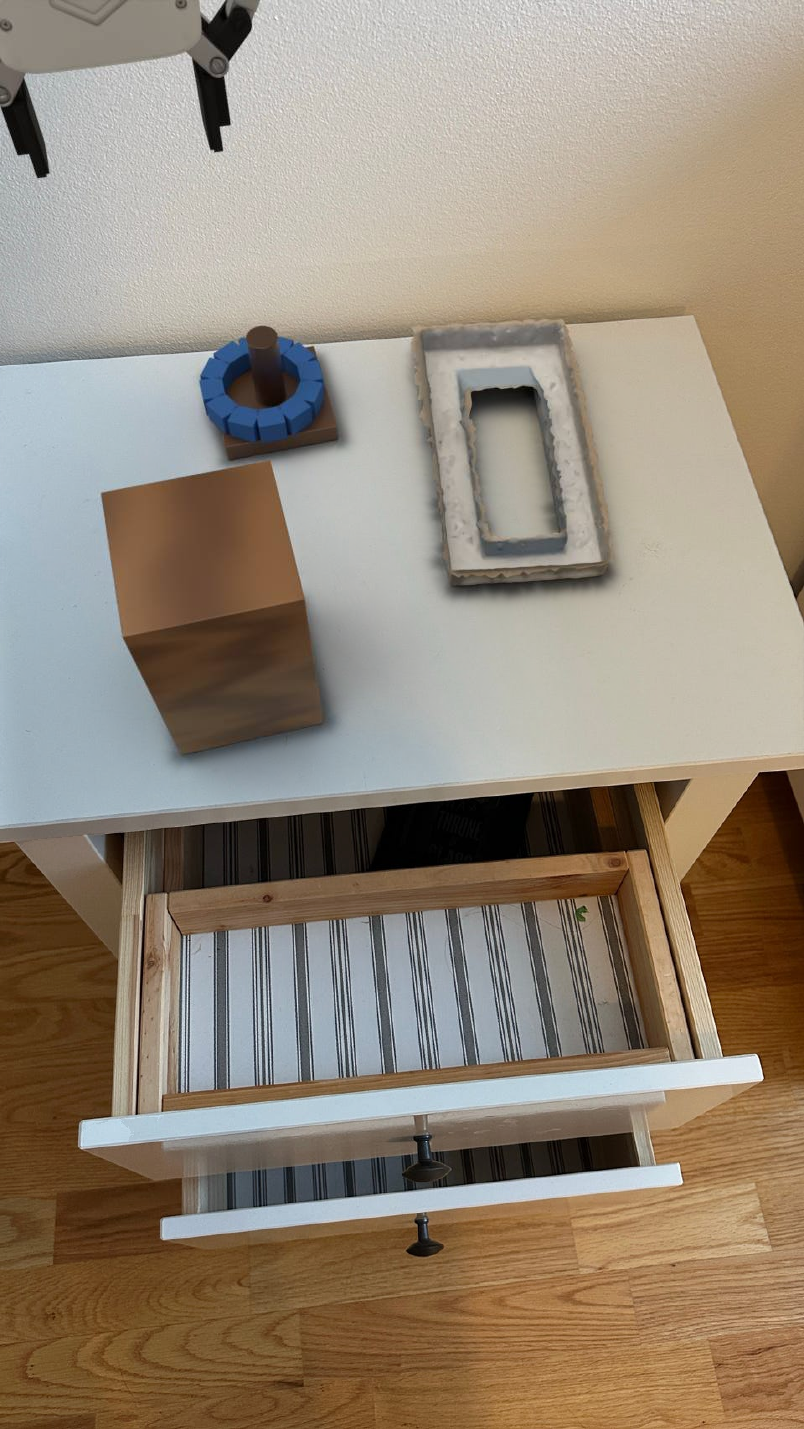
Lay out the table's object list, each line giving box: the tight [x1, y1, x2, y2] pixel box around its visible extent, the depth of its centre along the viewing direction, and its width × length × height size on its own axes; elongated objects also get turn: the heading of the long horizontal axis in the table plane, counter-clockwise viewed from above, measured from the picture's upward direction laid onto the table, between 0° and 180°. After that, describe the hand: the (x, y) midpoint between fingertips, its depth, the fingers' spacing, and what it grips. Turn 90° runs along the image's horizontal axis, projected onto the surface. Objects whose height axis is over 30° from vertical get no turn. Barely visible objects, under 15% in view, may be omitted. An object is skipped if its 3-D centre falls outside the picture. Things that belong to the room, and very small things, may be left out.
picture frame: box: [410, 317, 615, 586], centre depth 77 cm, size 13×25×3 cm, turn 6°
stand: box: [100, 459, 324, 756], centre depth 62 cm, size 10×10×16 cm
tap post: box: [220, 325, 339, 461], centre depth 77 cm, size 9×9×8 cm
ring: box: [198, 336, 325, 443], centre depth 78 cm, size 10×10×2 cm
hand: (128, 149), depth 55 cm, fingers open, 9 cm apart
